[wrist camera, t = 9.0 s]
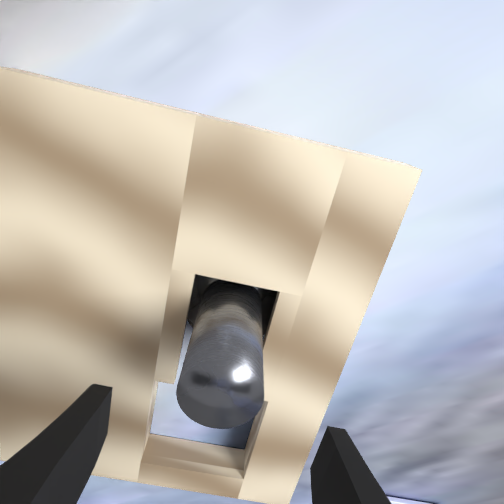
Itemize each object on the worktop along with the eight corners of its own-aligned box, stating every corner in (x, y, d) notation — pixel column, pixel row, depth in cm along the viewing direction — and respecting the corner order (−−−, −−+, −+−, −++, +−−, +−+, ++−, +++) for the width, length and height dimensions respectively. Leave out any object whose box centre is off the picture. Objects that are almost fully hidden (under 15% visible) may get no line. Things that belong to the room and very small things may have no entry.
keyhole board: (285, 475, 26) (287, 506, 24) (20, 431, 24) (0, 460, 22) (403, 162, 18) (422, 169, 16) (16, 69, 16) (-16, 64, 14)
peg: (269, 341, 21) (276, 455, 14) (180, 328, 21) (144, 438, 14) (287, 260, 20) (306, 347, 13) (190, 245, 19) (153, 325, 12)
